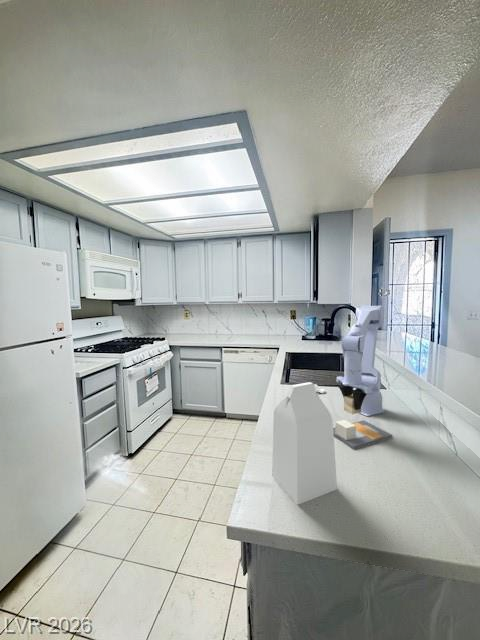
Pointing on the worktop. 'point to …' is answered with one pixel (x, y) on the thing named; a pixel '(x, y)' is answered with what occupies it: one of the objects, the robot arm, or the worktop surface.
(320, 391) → the teacup and saucer
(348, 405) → the block
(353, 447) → the breaker panel
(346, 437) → the cream white cube
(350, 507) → the worktop surface
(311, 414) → the milk
